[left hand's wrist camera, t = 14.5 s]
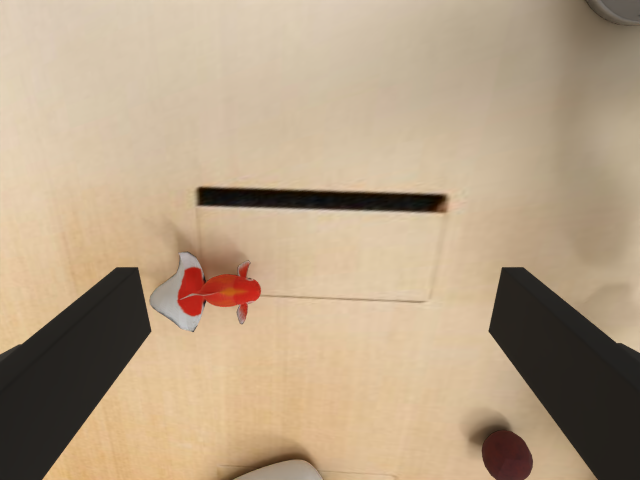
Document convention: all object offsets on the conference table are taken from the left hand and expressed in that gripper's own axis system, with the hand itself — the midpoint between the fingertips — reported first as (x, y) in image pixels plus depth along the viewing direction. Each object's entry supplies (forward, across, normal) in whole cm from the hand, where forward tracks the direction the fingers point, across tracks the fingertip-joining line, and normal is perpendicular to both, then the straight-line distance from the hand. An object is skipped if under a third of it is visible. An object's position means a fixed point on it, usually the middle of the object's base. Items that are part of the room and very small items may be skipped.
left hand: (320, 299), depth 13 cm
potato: (+32, +30, -46) cm, 64 cm away
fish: (+32, -15, -16) cm, 39 cm away
